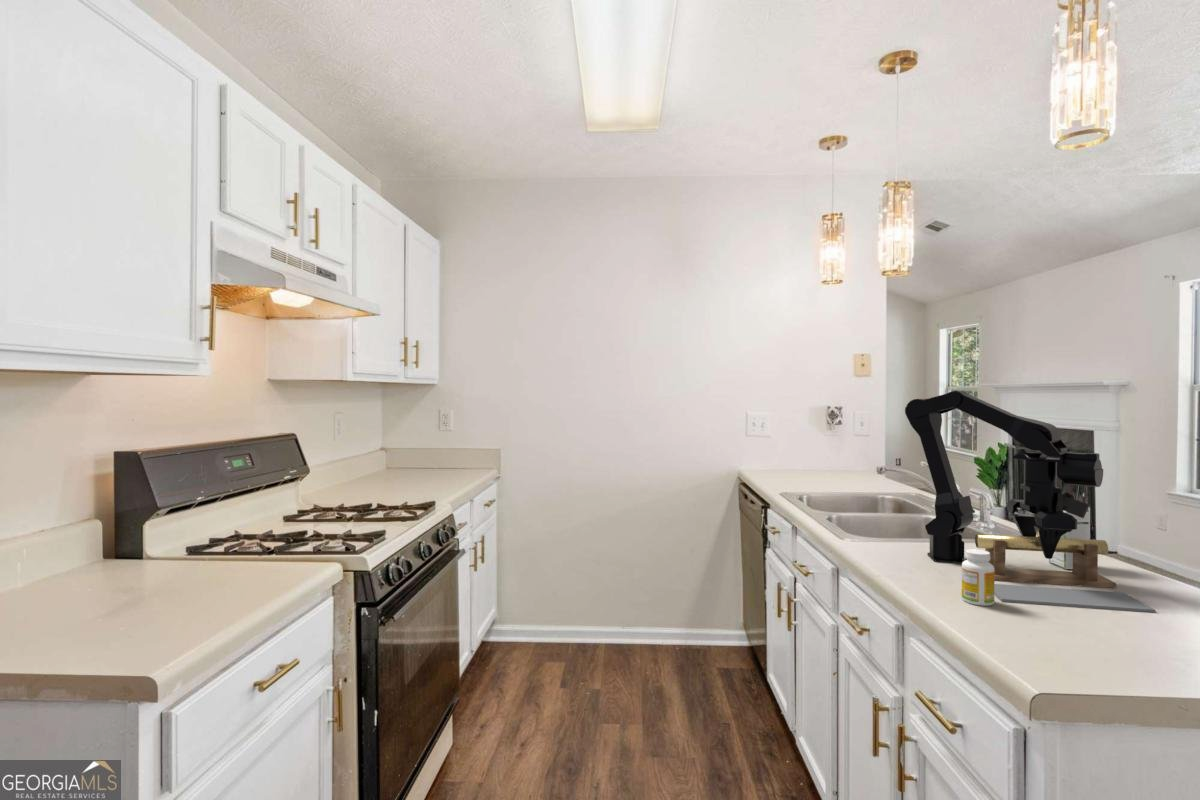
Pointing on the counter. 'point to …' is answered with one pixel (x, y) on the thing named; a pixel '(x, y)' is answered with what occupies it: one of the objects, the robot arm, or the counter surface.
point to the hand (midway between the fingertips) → (1039, 553)
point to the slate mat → (1069, 597)
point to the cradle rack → (1081, 575)
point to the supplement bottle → (978, 578)
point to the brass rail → (1034, 544)
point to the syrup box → (1080, 533)
